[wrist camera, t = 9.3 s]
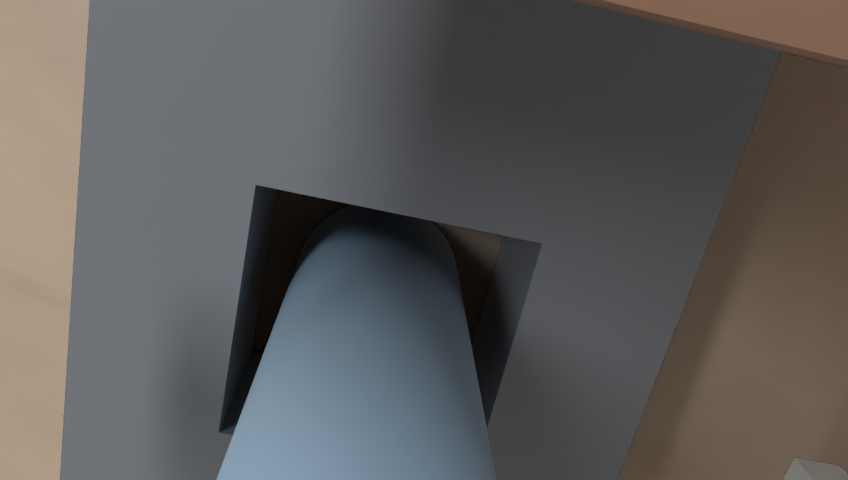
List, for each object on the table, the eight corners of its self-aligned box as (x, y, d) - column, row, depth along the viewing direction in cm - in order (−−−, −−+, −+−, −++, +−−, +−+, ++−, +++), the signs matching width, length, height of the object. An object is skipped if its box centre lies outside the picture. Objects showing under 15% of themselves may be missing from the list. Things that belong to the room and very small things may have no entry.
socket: (184, -305, 14) (114, -397, 10) (767, -147, 15) (871, -183, 11) (119, 402, 19) (59, 491, 16) (552, 475, 20) (581, 573, 17)
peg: (312, 186, 17) (131, 597, 6) (473, 219, 17) (606, 664, 6) (285, 333, 18) (97, 902, 7) (436, 360, 19) (490, 941, 7)
